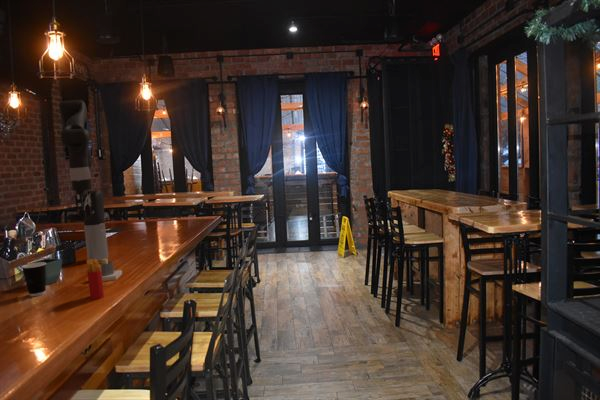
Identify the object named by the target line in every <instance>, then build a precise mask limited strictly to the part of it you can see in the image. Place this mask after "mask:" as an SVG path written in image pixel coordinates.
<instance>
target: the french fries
mask: <svg viewBox="0 0 600 400" xmlns="http://www.w3.org/2000/svg"><path fill="white" fill-rule="evenodd" d="M99 263H100V261H98V260H97V259H94V258H93V259H90V260H88V259H87V260H86V267H87V272H86V273H87V279H88V287H89V289H88V290H89V295H90V300H94V301H95V300H100V299H103V298H104V296H105V292H104V291H105V290H104V281H103V280H102V270H101V264H99Z"/></svg>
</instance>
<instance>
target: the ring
mask: <svg viewBox="0 0 600 400" xmlns="http://www.w3.org/2000/svg"><path fill="white" fill-rule="evenodd" d="M99 264H101V261H99ZM101 270H102V276H107V275H111V274H114V271H115V268H114V262H113V261H110V260H108V264H101Z"/></svg>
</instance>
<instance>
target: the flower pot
mask: <svg viewBox="0 0 600 400" xmlns="http://www.w3.org/2000/svg"><path fill="white" fill-rule="evenodd" d="M38 262H45V263H46V264H45V270H46V286H48V285H51V284H54V283H57V282H58V280H59V279H60V277H61V273H62V258H43V259H39V260H36V261H33V262H29V263H27V264H31V263H38Z"/></svg>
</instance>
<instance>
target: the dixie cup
mask: <svg viewBox="0 0 600 400" xmlns="http://www.w3.org/2000/svg"><path fill="white" fill-rule="evenodd" d="M30 263H31V264H28V263H27V264H24V265H22V266H21V267H20V268H21V269H22V272H23V276H24V280H25V285H26V288H27V291H28V294H29V296H30V297H39V296H43V295H45V294H46V286H47V285H46V270H45V264H46V263H45V262H38V263H32V262H30Z"/></svg>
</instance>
